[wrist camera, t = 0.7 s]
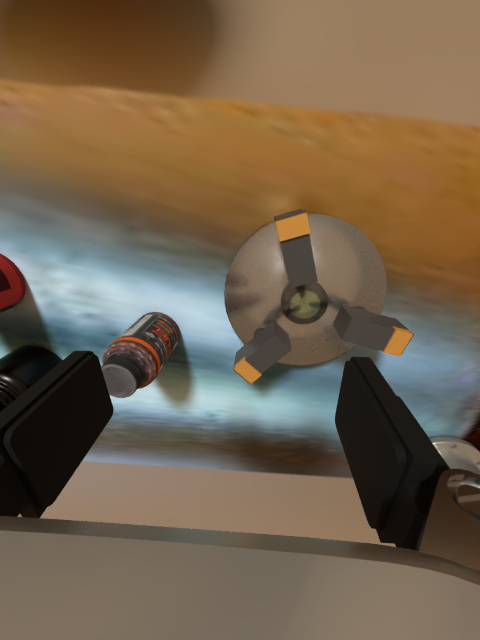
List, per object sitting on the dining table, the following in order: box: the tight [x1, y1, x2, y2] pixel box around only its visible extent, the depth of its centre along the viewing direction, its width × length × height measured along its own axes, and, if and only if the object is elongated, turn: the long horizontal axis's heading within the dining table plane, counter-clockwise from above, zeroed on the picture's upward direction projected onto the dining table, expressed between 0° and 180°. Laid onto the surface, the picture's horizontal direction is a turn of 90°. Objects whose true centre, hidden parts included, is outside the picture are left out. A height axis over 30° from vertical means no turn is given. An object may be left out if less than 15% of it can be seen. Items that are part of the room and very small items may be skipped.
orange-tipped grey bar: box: [233, 320, 291, 383], centre depth 29 cm, size 6×2×6 cm, turn 136°
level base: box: [224, 213, 387, 365], centre depth 30 cm, size 18×18×4 cm
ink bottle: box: [0, 346, 62, 412], centre depth 34 cm, size 10×9×12 cm
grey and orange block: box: [274, 209, 318, 288], centre depth 24 cm, size 6×2×6 cm, turn 16°
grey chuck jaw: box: [333, 305, 414, 356], centre depth 27 cm, size 6×2×6 cm, turn 76°
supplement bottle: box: [101, 312, 179, 398], centre depth 30 cm, size 6×6×11 cm
